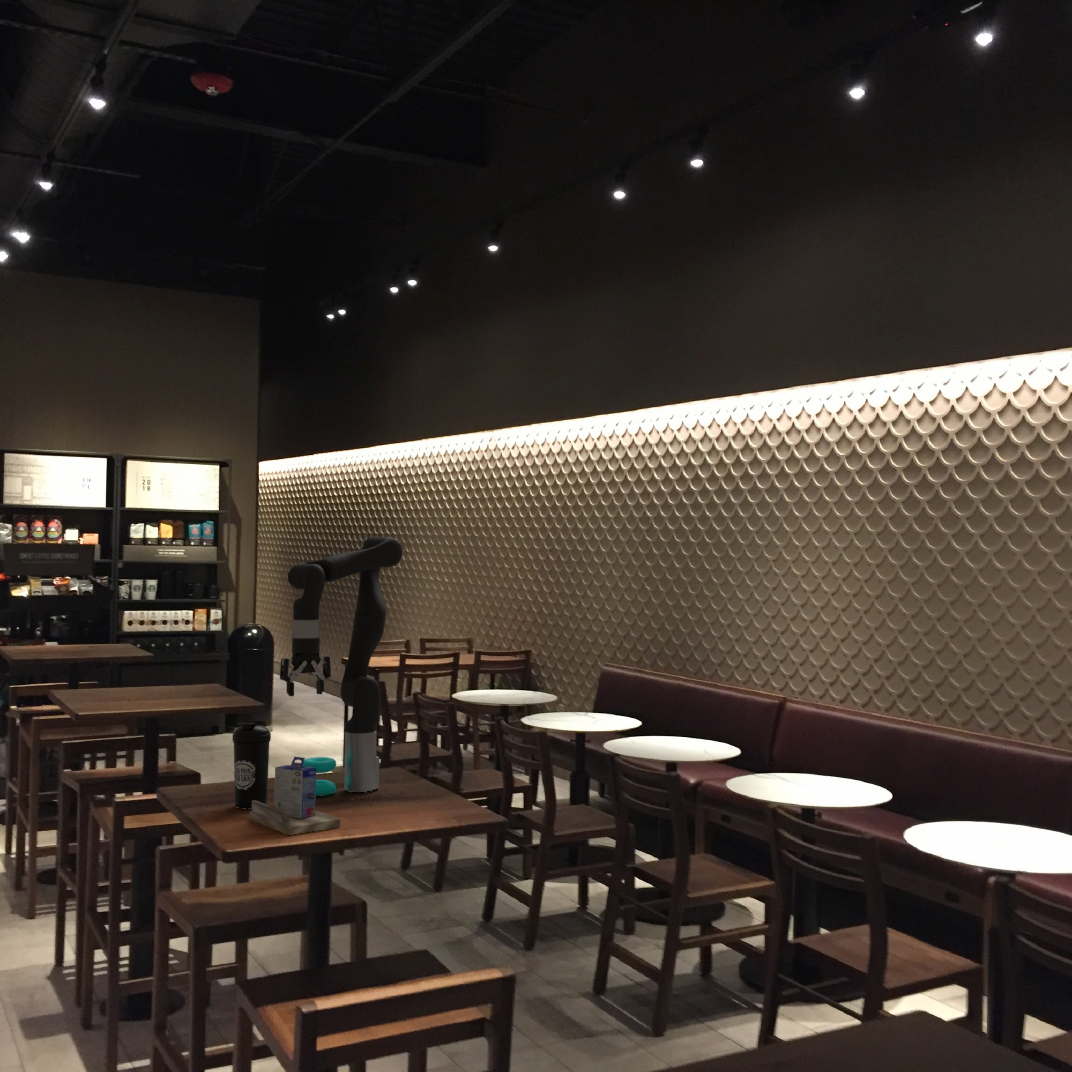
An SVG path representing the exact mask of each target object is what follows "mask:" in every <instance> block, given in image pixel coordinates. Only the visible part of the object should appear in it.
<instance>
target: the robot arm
mask: <svg viewBox="0 0 1072 1072" xmlns="http://www.w3.org/2000/svg"><path fill="white" fill-rule="evenodd" d="M403 551H404V550H403V546H402V544H401V542H400V541H399V540H398V539H396V538H394V537H391V536H370V537H367V538H366V539H365V541H364V542H363V544H362V548H361V549H359V550H354V551H347V552H341V553H337V554H333V555H330V556H327V557H324V558H321V559H315V560H311V561H306V562H305V561H304V562H301V563H297V564H294V565H293V566H292V567H291V568H290V569H289V571H288V574H287V581H288V584H289V585H290V586H291V587H293V588H294V589H296V590H303V593H302V596H301V597H299V598H297V599H295V600H294V602H293V606H292V608H293V609H292V612H293V613H292V619H293V620H292V626H291V654H292V656H291V658H284V657H282V658H281V659H280V669H279V679H280V680H281V681H284V682H286V694H287V695H288V697H295V680H296V679H297V677H299V676H300V674H306V673H309V674H313V676H314V677H315V678H316V679H317V680H316V692H315V693H316V694H317V695H323V693H324V691H325V680H326V679H330V678H331V676H332V675H331V673H332V671H331V657H330V656H328V655H323V656H320V652H321V651H320V649H321V645H320V644H321V626H320V603H321V600H322V595H323V592H324V589H325V585H326V583H330V582H335V581H337V580H341V579H343V578H346V577H349V576H352V575H355V574H358V573H359V582H358V583H359V584H358V591H357V601H356V606H355V612H354V617H353V624H352V631H351V639H350V645H349V650H348V655H347V661H346V665H345V668H344V673H343V677H342V681H341V684H340V693H339V694H340V699H341V701H342V703H343V704H345V705H346V706H348V707H352V713H351V717H350V719H348V720H347V721H345V723H344V783H343V784H344V785H343V786H344V789H345V790H346V791H353V792H364V793H368V792H367V791H371V792H373V791H372V790H374V789H376V788H379V789H380V757H379V756H377V728H378V726H377V725H378V724H379V720H380V713H381V712H380V711H381V689H380V685H379V683H378V682H377V680H376V679H374V678H372V677H368V671H369V667H370V666H369V665H370V661H371V658H372V656H373V654H374V652H375V651H376V649H377V647H378V645H379V644H380V642H381V640H382V638H383V636H384V632H385V626H386V618H387V609H386V605H385V601H384V599H383V595H382V593H381V590H380V589H381V588H380V583H379V579H380V570H381V568H392V567H395V566H397V565H398V564H399V563H400V561H402V558H403ZM319 664H321V666H322V670H321V668H320V667H319ZM291 665H292V668H291V669H290V671H289V667H290V666H291ZM345 790H344V791H345ZM346 791H345V792H346Z"/></svg>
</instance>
